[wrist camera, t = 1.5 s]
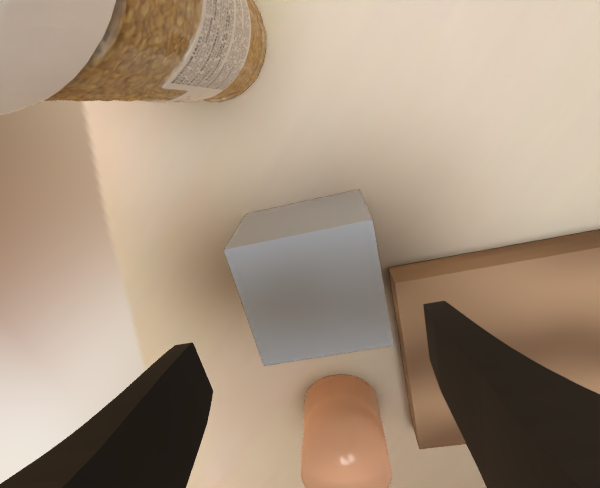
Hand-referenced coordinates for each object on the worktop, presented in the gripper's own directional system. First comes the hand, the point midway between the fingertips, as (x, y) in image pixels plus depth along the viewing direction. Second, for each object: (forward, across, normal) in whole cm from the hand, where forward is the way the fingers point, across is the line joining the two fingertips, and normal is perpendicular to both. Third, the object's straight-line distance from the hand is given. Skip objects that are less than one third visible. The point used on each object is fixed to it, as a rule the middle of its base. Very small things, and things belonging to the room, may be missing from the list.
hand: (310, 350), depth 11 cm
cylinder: (+7, 0, +10) cm, 13 cm away
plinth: (+7, -9, +7) cm, 14 cm away
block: (+8, 0, 0) cm, 8 cm away
